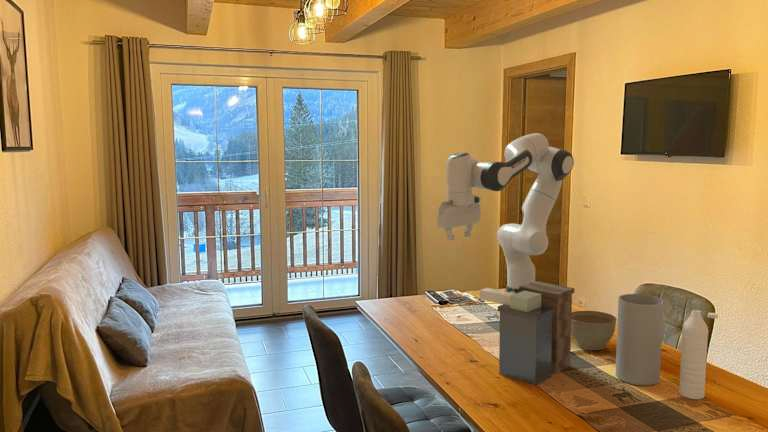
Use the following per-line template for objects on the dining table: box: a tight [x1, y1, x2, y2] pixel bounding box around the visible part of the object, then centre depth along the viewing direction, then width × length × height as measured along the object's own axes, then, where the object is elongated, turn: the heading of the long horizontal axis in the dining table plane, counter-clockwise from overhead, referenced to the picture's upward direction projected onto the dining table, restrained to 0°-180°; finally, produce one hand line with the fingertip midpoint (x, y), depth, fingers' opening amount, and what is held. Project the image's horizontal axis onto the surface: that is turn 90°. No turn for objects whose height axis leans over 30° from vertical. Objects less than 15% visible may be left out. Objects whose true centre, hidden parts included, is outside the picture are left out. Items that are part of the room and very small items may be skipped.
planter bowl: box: [571, 310, 618, 351], centre depth 204 cm, size 16×16×11 cm
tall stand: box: [519, 280, 575, 375], centre depth 188 cm, size 10×14×26 cm
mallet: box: [479, 287, 541, 312], centre depth 183 cm, size 8×19×4 cm, turn 44°
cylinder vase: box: [615, 293, 664, 386], centre depth 176 cm, size 12×12×25 cm
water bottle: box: [678, 309, 719, 400], centre depth 163 cm, size 9×6×25 cm
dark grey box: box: [497, 304, 555, 386], centre depth 180 cm, size 10×14×22 cm
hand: (459, 238), depth 204 cm, fingers open, 8 cm apart
